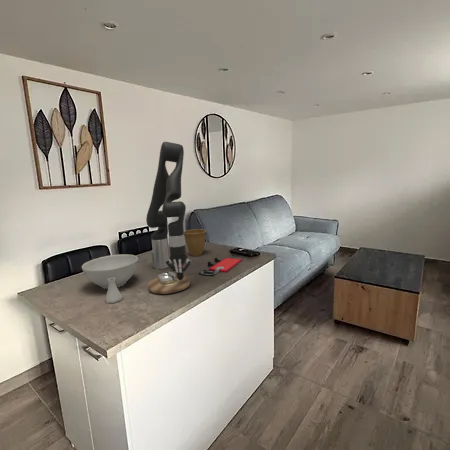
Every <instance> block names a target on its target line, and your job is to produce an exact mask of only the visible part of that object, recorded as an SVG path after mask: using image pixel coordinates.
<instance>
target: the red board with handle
mask: <svg viewBox="0 0 450 450" xmlns="http://www.w3.org/2000/svg"><path fill="white" fill-rule="evenodd" d="M213 260H214V263H215V264H213V263H211V261H208V262H207V269H203V270H202V271H200V272H199V273H198V274H200V275H207V276H214V275H216V274H217V273H225V272H226V273H228V272H230V271H231V270H232V269H234V268H235V267H236V266H237V265H238V263H239V264H240V263H241V262H242V261H243V259H242V258H241V259H240V258H233V257H224V258H222V260H220V259H218V257H214V259H213ZM208 267H209V268H208ZM233 267H234V268H233ZM226 273H225V274H226Z"/></svg>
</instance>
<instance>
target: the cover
mask: <svg viewBox="0 0 450 450" xmlns="http://www.w3.org/2000/svg"><path fill="white" fill-rule="evenodd" d="M175 274H176V273H175V271H170V270H169V271H168V270H167V271H163V272H162V273H159V274H158V275H157V277H158V278H159V284H162V285H168V284H172V283H174V282H175V281H176V277H175Z"/></svg>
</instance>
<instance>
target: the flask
mask: <svg viewBox="0 0 450 450" xmlns="http://www.w3.org/2000/svg"><path fill="white" fill-rule="evenodd" d="M107 280H108V283H109V286H108V289H107V292H106V297H105V299H104V300H105V303H107V304H114V303H119V302H121V301H122V300H123V299H124V297H123V296H122V294H121V292H120V290H119V287H118V288H117V286H116V283H115V278H109V279H107Z"/></svg>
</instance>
